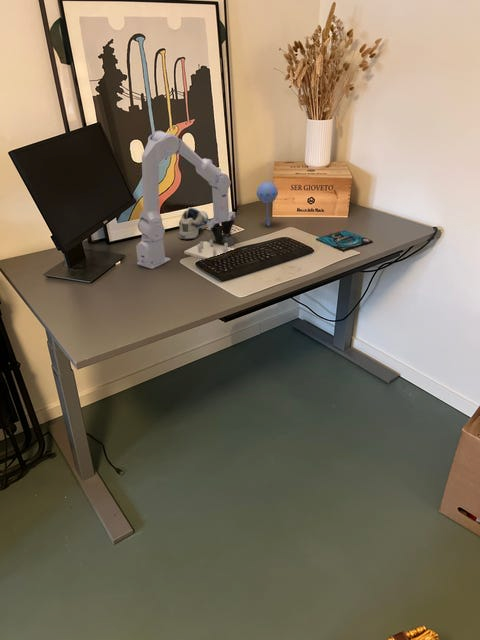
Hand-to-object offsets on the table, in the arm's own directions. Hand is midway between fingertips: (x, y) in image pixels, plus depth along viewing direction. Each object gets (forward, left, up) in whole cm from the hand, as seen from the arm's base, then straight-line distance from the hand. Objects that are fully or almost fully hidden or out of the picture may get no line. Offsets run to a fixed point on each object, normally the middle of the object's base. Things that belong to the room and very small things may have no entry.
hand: (222, 240), depth 185 cm
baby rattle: (+26, -3, -2) cm, 27 cm away
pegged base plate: (-10, -2, -1) cm, 10 cm away
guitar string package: (+26, -38, -2) cm, 46 cm away
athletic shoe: (+6, +19, -2) cm, 20 cm away
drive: (0, 0, -1) cm, 1 cm away
